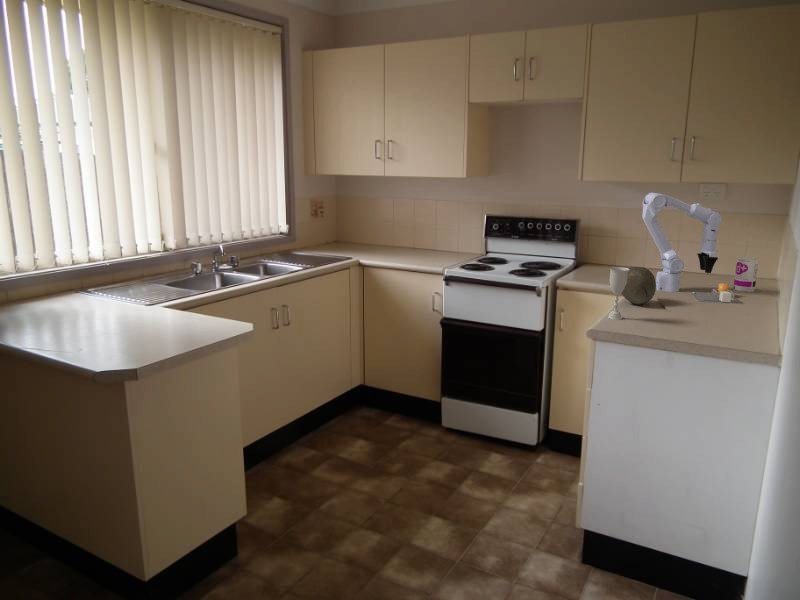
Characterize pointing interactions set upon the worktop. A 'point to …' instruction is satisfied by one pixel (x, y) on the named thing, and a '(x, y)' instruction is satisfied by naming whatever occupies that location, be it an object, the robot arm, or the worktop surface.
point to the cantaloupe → (639, 285)
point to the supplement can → (745, 274)
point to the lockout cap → (723, 287)
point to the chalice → (617, 287)
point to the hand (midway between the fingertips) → (705, 271)
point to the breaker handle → (725, 296)
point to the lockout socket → (717, 294)
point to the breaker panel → (712, 298)
